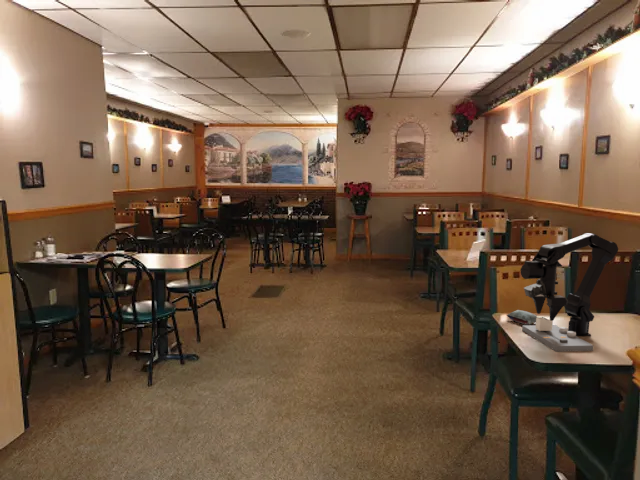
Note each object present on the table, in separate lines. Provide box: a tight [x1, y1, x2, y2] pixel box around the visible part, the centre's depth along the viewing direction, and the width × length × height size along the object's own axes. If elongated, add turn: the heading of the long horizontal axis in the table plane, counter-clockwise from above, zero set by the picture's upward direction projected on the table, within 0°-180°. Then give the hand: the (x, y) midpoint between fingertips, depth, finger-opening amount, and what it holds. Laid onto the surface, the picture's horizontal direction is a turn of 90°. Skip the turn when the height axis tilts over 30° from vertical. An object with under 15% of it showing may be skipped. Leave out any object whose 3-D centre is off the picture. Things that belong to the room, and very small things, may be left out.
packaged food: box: [506, 309, 538, 325], centre depth 205 cm, size 9×12×5 cm
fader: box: [535, 316, 554, 331], centre depth 188 cm, size 3×5×5 cm, turn 95°
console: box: [521, 324, 594, 352], centre depth 183 cm, size 24×14×4 cm, turn 5°
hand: (544, 317), depth 187 cm, fingers open, 9 cm apart
